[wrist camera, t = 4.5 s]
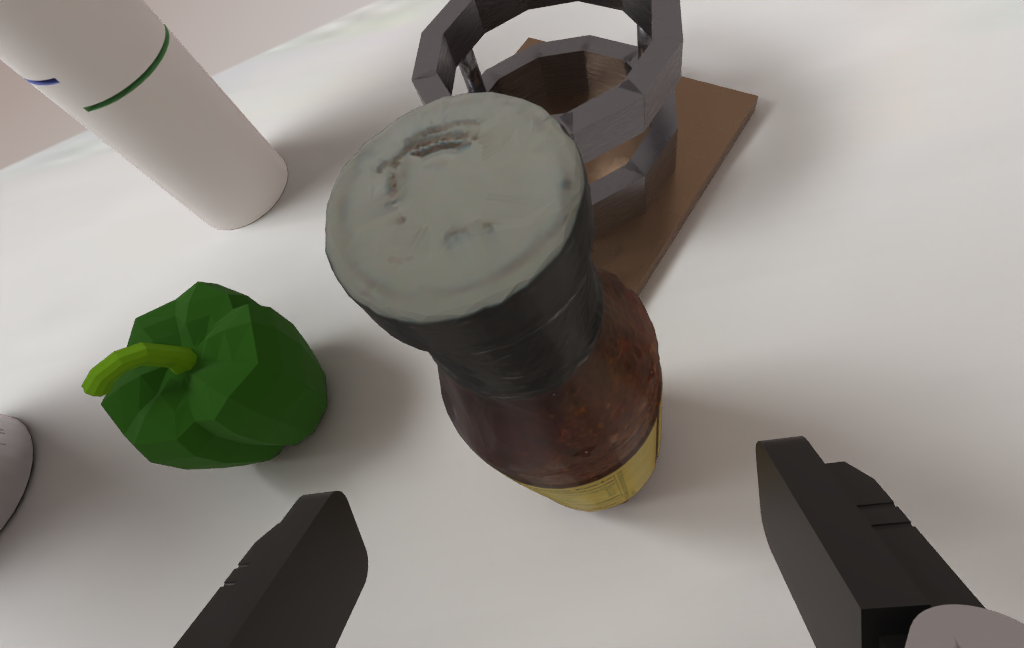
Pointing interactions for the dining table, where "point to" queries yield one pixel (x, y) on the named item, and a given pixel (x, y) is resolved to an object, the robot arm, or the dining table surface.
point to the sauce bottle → (504, 293)
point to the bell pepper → (211, 382)
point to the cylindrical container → (145, 102)
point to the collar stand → (605, 115)
